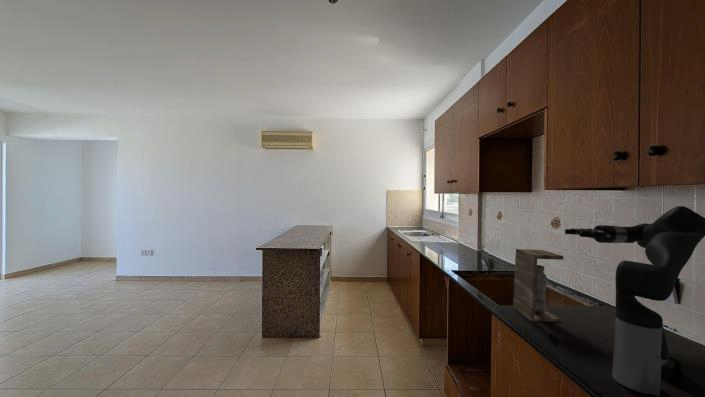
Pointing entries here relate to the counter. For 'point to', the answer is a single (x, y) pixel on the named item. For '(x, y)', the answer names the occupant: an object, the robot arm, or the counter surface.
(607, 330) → the counter surface
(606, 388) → the counter surface
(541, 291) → the plastic bottle
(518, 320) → the counter surface
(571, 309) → the counter surface
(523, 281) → the cubby shelf
